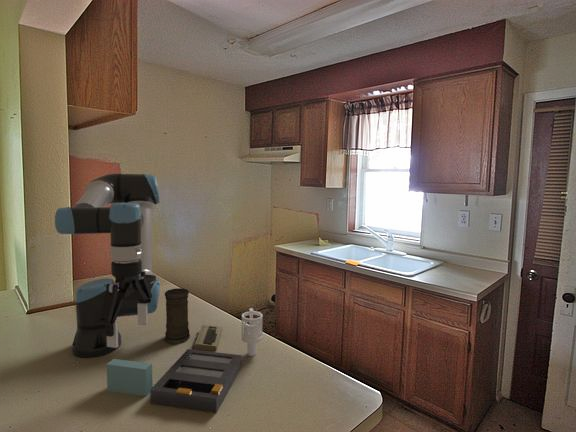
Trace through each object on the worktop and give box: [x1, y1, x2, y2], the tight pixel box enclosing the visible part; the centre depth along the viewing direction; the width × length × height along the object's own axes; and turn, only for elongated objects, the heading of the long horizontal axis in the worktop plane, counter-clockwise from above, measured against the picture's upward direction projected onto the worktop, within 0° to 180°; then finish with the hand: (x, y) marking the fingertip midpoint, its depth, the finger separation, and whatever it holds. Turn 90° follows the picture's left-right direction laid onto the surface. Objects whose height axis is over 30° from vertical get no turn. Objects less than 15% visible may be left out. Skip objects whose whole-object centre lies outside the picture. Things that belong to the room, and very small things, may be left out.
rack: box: [149, 348, 243, 414], centre depth 102 cm, size 18×22×5 cm
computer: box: [193, 324, 223, 352], centre depth 129 cm, size 16×8×3 cm, turn 4°
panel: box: [106, 358, 154, 397], centre depth 98 cm, size 12×3×8 cm, turn 80°
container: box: [164, 288, 191, 345], centre depth 129 cm, size 9×9×18 cm
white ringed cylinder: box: [241, 307, 264, 357], centre depth 120 cm, size 7×7×15 cm
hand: (128, 335), depth 97 cm, fingers open, 13 cm apart
